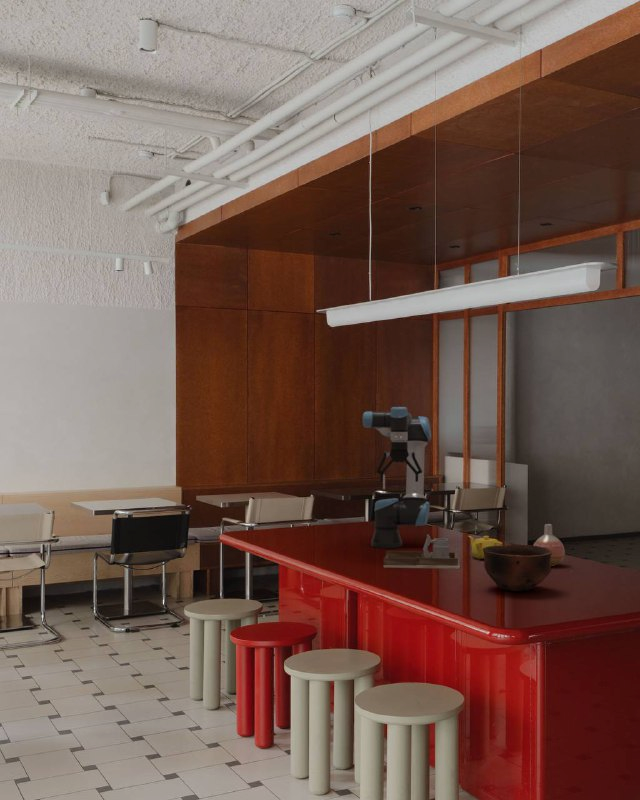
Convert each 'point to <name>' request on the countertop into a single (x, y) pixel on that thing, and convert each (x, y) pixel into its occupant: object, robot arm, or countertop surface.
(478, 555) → the teapot
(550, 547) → the vase
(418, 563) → the rimmed tray
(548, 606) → the countertop surface
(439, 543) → the mug
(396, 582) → the countertop surface
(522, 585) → the bowl
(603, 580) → the countertop surface
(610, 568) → the countertop surface
